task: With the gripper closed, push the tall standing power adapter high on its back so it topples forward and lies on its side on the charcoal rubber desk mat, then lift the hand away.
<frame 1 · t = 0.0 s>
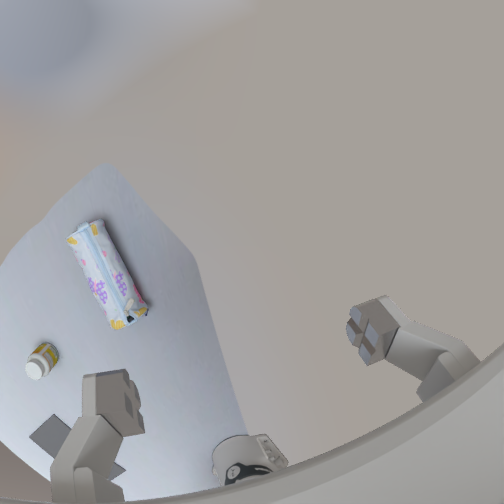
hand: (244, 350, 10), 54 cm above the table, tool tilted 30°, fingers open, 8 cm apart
supplement bottle: (48, 353, 57), on the table
pencil case: (110, 271, 60), on the table
desk mat: (76, 455, 59), on the table
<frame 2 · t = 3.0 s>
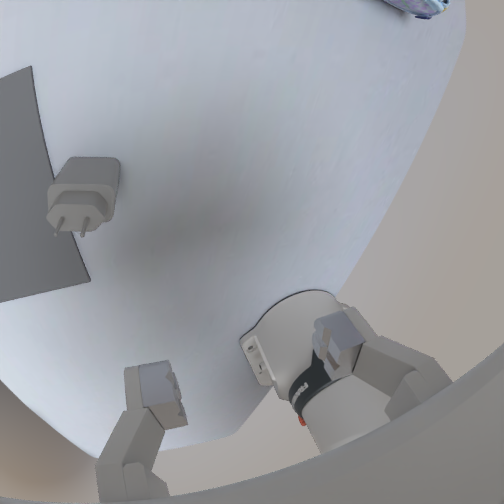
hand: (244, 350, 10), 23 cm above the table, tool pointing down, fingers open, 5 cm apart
desk mat: (0, 201, 24), on the table
power adapter: (92, 172, 27), on the table
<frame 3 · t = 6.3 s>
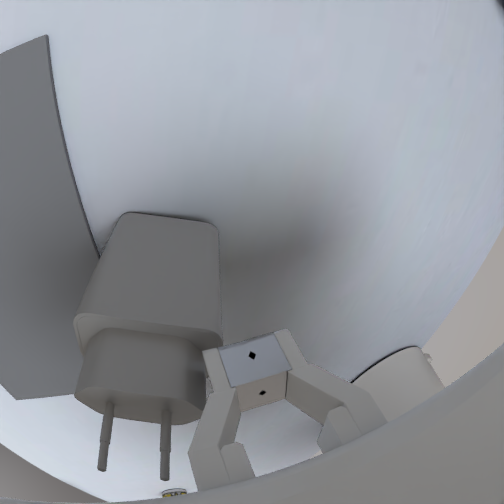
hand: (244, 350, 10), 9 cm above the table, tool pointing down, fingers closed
desk mat: (2, 279, 14), on the table
supplement bottle 2: (173, 490, 44), on the table
power adapter: (166, 241, 17), on the table, touching gripper
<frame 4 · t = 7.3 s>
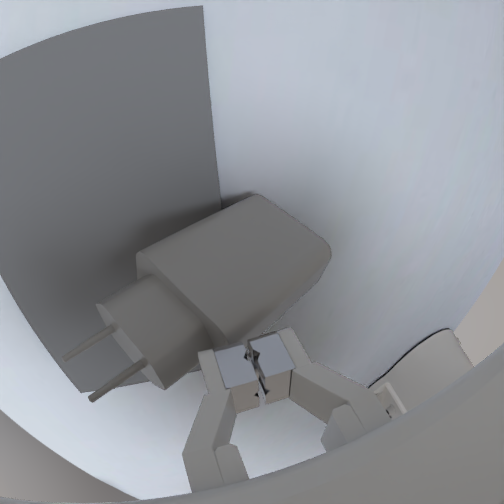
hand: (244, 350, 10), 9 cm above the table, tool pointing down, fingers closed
desk mat: (103, 254, 16), on the table
power adapter: (285, 238, 17), point 2 cm above the table, touching gripper
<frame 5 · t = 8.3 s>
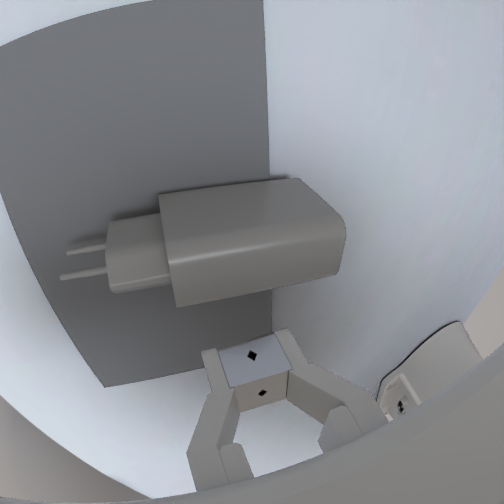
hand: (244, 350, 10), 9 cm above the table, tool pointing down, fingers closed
desk mat: (144, 238, 16), on the table
power adapter: (317, 222, 15), point 3 cm above the table, touching desk mat
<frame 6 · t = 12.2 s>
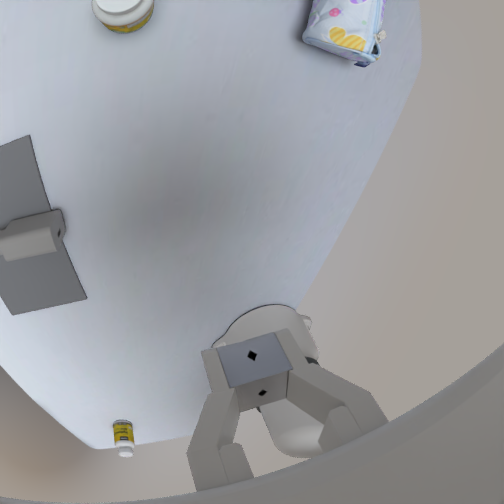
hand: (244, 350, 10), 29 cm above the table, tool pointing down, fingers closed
supplement bottle: (127, 11, 23), on the table
desk mat: (13, 238, 32), on the table
supplement bottle 2: (122, 423, 61), on the table
power adapter: (59, 229, 31), point 3 cm above the table, touching desk mat
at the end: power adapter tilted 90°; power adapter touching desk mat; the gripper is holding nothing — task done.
